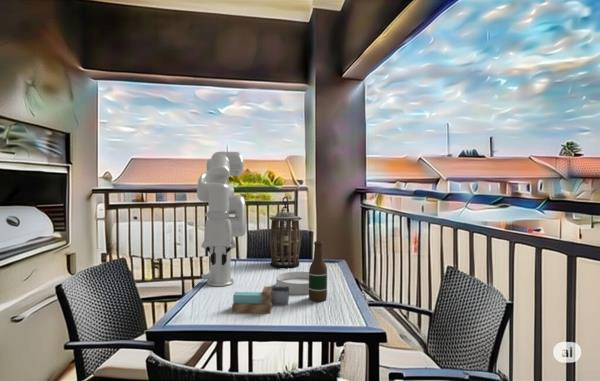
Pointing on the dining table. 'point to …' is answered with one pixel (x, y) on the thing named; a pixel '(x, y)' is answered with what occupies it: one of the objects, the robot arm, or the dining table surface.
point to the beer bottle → (318, 275)
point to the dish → (294, 282)
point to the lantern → (285, 239)
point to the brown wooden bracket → (256, 308)
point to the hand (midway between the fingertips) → (218, 263)
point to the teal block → (247, 297)
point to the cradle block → (280, 295)
